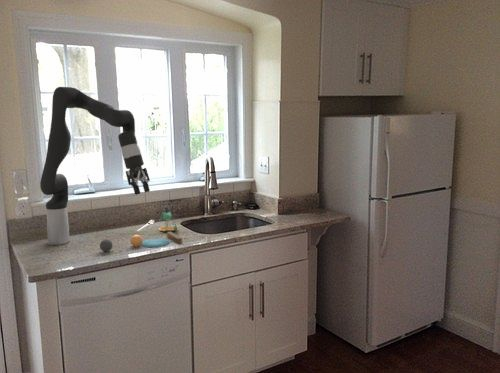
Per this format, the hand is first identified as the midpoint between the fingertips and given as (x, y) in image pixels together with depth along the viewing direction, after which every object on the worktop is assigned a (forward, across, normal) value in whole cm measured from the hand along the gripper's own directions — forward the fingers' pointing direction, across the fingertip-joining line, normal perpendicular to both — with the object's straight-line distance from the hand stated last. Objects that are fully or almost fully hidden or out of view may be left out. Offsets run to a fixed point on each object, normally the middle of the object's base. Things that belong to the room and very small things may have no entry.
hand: (142, 193), depth 187 cm
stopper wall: (+26, -30, -6) cm, 40 cm away
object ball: (+20, -16, -18) cm, 32 cm away
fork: (+18, -50, -31) cm, 61 cm away
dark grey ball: (+18, -6, -28) cm, 34 cm away
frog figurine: (+22, -45, -16) cm, 53 cm away
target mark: (+24, -22, -13) cm, 35 cm away
